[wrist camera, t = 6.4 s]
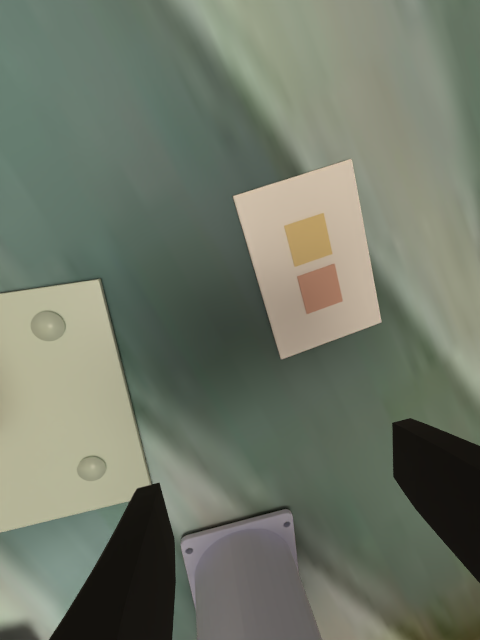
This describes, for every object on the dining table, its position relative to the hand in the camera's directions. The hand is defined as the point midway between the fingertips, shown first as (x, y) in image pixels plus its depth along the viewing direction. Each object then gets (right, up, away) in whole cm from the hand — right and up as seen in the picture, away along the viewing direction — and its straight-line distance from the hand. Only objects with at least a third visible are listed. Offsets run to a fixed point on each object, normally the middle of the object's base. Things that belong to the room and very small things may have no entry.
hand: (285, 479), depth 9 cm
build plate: (-16, -1, +8) cm, 18 cm away
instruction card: (+3, +8, +9) cm, 13 cm away
